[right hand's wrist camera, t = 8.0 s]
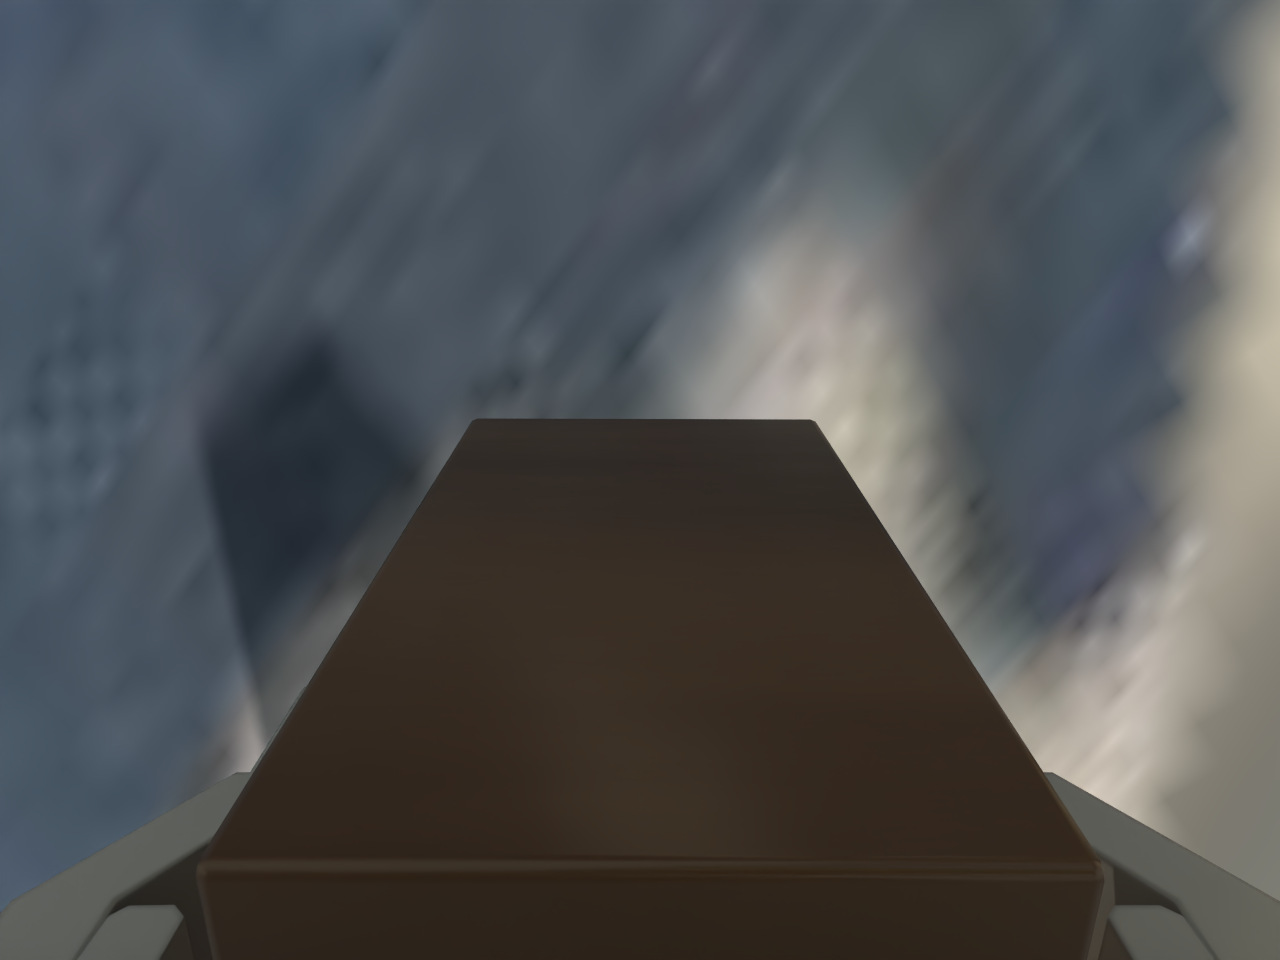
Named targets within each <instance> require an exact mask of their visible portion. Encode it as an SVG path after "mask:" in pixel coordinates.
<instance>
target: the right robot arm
mask: <svg viewBox="0 0 1280 960" xmlns="http://www.w3.org/2000/svg"><path fill="white" fill-rule="evenodd" d="M305 689H306V687H305V688H304V689H303V690H302V691H301V693H300V694H299V696H298V697H297V699H296V701H295V702H294V704H293V705H292V707H291V709H290V710H289V712H288V713H287V715H286V716H285V718H284V720H283V721H282V723H281V724H280V726H279V728H278V729H277V731H276V732H275V734H274V735H273V737H272V739H271V740H270V742H269V743H268V745H267V747H266V748H265V750H264V751H263V753H262V754H261V756H260V758H259V759H258V761H257V762H256V764H255V766H254V767H253V769H252V770H251V772H241V773H235V774H233V775H231V776H230V777H228V778H226V779H224V780H223V781H221V782H219V783H217V784H216V785H214V786H212V787H210V788H208V789H207V790H205V791H203V792H201V793H200V794H198V795H196V796H194V797H193V798H191V799H189V800H187V801H186V802H184V803H182V804H180V805H179V806H177V807H175V808H173V809H172V810H170V811H168V812H166V813H165V814H163V815H161V816H159V817H158V818H156V819H154V820H152V821H151V822H149V823H147V824H145V825H144V826H142V827H140V828H138V829H137V830H135V831H133V832H131V833H130V834H128V835H126V836H124V837H123V838H121V839H119V840H117V841H116V842H114V843H112V844H110V845H109V846H107V847H105V848H103V849H102V850H100V851H98V852H96V853H94V854H93V855H91V856H89V857H87V858H86V859H84V860H82V861H80V862H79V863H77V864H75V865H73V866H72V867H70V868H68V869H66V870H65V871H63V872H61V873H59V874H58V875H56V876H54V877H52V878H51V879H49V880H47V881H45V882H44V883H42V884H40V885H38V886H37V887H35V888H33V889H31V890H30V891H28V892H26V893H24V894H23V895H21V896H19V897H17V898H16V899H14V900H12V901H11V902H10V903H9V904H8V905H7V906H6V908H5V909H4V910H3V911H2V912H1V913H0V960H213V959H212V954H211V949H210V945H209V940H208V935H207V930H206V926H205V921H204V916H203V911H202V906H201V902H200V897H199V892H198V887H197V883H196V870H197V866H198V863H199V860H200V857H201V856H202V854H203V852H204V851H205V849H206V848H207V846H208V844H209V843H210V841H211V840H212V838H213V836H214V835H215V833H216V832H217V830H218V828H219V827H220V825H221V824H222V822H223V820H224V819H225V817H226V816H227V814H228V812H229V811H230V809H231V808H232V806H233V804H234V803H235V801H236V799H237V798H238V796H239V795H240V793H241V791H242V790H243V788H244V787H245V785H246V783H247V782H248V780H249V779H250V777H251V775H252V774H253V772H254V771H255V769H256V767H257V766H258V764H259V763H260V761H261V759H262V758H263V756H264V755H265V753H266V751H267V750H268V748H269V747H270V745H271V743H272V742H273V740H274V738H275V737H276V735H277V734H278V732H279V730H280V729H281V727H282V726H283V724H284V722H285V721H286V719H287V718H288V716H289V714H290V713H291V711H292V710H293V708H294V706H295V705H296V703H297V702H298V700H299V698H300V697H301V695H302V694H303V692H304V690H305ZM1043 773H1044V774H1045V776H1046V777H1047V779H1048V780H1049V782H1050V783H1051V785H1052V787H1053V788H1054V790H1055V791H1056V793H1057V794H1058V796H1059V797H1060V799H1061V800H1062V802H1063V803H1064V805H1065V807H1066V808H1067V810H1068V811H1069V813H1070V814H1071V816H1072V817H1073V819H1074V820H1075V822H1076V823H1077V825H1078V827H1079V828H1080V830H1081V831H1082V833H1083V834H1084V836H1085V837H1086V839H1087V840H1088V842H1089V843H1090V845H1091V847H1092V848H1093V850H1094V851H1095V853H1096V854H1097V856H1098V857H1099V859H1100V861H1101V864H1102V867H1103V871H1104V880H1105V882H1104V887H1103V891H1102V896H1101V900H1100V904H1099V909H1098V913H1097V918H1096V922H1095V926H1094V931H1093V935H1092V940H1091V944H1090V948H1089V953H1088V957H1087V960H1280V901H1278V900H1276V899H1275V898H1273V897H1271V896H1269V895H1268V894H1266V893H1264V892H1262V891H1261V890H1259V889H1257V888H1255V887H1253V886H1252V885H1250V884H1248V883H1246V882H1245V881H1243V880H1241V879H1239V878H1238V877H1236V876H1234V875H1232V874H1231V873H1229V872H1227V871H1225V870H1224V869H1222V868H1220V867H1218V866H1216V865H1215V864H1213V863H1211V862H1209V861H1208V860H1206V859H1204V858H1202V857H1201V856H1199V855H1197V854H1195V853H1194V852H1192V851H1190V850H1188V849H1186V848H1185V847H1183V846H1181V845H1179V844H1178V843H1176V842H1174V841H1172V840H1171V839H1169V838H1167V837H1165V836H1164V835H1162V834H1160V833H1158V832H1156V831H1155V830H1153V829H1151V828H1149V827H1148V826H1146V825H1144V824H1142V823H1141V822H1139V821H1137V820H1135V819H1134V818H1132V817H1130V816H1128V815H1126V814H1125V813H1123V812H1121V811H1119V810H1118V809H1116V808H1114V807H1112V806H1111V805H1109V804H1107V803H1105V802H1104V801H1102V800H1100V799H1098V798H1096V797H1095V796H1093V795H1091V794H1089V793H1088V792H1086V791H1084V790H1082V789H1081V788H1079V787H1077V786H1075V785H1074V784H1072V783H1070V782H1068V781H1066V780H1065V779H1063V778H1061V777H1059V776H1058V775H1056V774H1054V773H1049V772H1043Z"/></svg>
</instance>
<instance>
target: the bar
mask: <svg viewBox="0 0 1280 960" xmlns="http://www.w3.org/2000/svg"><path fill="white" fill-rule="evenodd" d="M1104 882H1105V880H1104V871H1103V867H1102V864H1101V861H1100V859H1099V857H1098V856H1097V854H1096V853H1095V851H1094V850H1093V848H1092V847H1091V845H1090V843H1089V842H1088V840H1087V839H1086V837H1085V836H1084V834H1083V833H1082V831H1081V830H1080V828H1079V827H1078V825H1077V823H1076V822H1075V820H1074V819H1073V817H1072V816H1071V814H1070V813H1069V811H1068V810H1067V808H1066V807H1065V805H1064V803H1063V802H1062V800H1061V799H1060V797H1059V796H1058V794H1057V793H1056V791H1055V790H1054V788H1053V787H1052V785H1051V783H1050V782H1049V780H1048V779H1047V777H1046V776H1045V774H1044V773H1043V771H1042V770H1041V768H1040V767H1039V765H1038V763H1037V762H1036V760H1035V759H1034V757H1033V756H1032V754H1031V753H1030V751H1029V750H1028V748H1027V747H1026V745H1025V743H1024V742H1023V740H1022V739H1021V737H1020V736H1019V734H1018V733H1017V731H1016V730H1015V728H1014V727H1013V725H1012V723H1011V722H1010V720H1009V719H1008V717H1007V716H1006V714H1005V713H1004V711H1003V710H1002V708H1001V707H1000V705H999V703H998V702H997V700H996V699H995V697H994V696H993V694H992V693H991V691H990V690H989V688H988V687H987V685H986V683H985V682H984V680H983V679H982V677H981V676H980V674H979V673H978V671H977V670H976V668H975V667H974V665H973V663H972V662H971V660H970V659H969V657H968V656H967V654H966V653H965V651H964V650H963V648H962V647H961V645H960V643H959V642H958V640H957V639H956V637H955V636H954V634H953V633H952V631H951V630H950V628H949V627H948V625H947V623H946V622H945V620H944V619H943V617H942V616H941V614H940V613H939V611H938V610H937V608H936V607H935V605H934V603H933V602H932V600H931V599H930V597H929V596H928V594H927V593H926V591H925V590H924V588H923V587H922V585H921V583H920V582H919V580H918V579H917V577H916V576H915V574H914V573H913V571H912V570H911V568H910V567H909V565H908V563H907V562H906V560H905V559H904V557H903V556H902V554H901V553H900V551H899V550H898V548H897V547H896V545H895V543H894V542H893V540H892V539H891V537H890V536H889V534H888V533H887V531H886V530H885V528H884V527H883V525H882V523H881V522H880V520H879V519H878V517H877V516H876V514H875V513H874V511H873V510H872V508H871V507H870V505H869V503H868V502H867V500H866V499H865V497H864V496H863V494H862V493H861V491H860V490H859V488H858V487H857V485H856V483H855V482H854V480H853V479H852V477H851V476H850V474H849V473H848V471H847V470H846V468H845V467H844V465H843V463H842V462H841V460H840V459H839V457H838V456H837V454H836V453H835V451H834V450H833V448H832V447H831V445H830V443H829V442H828V440H827V439H826V437H825V436H824V434H823V433H822V431H821V430H820V428H819V427H818V425H817V423H816V422H815V421H812V420H757V419H475V420H473V421H472V422H471V424H470V425H469V427H468V429H467V430H466V432H465V433H464V435H463V437H462V438H461V440H460V441H459V443H458V445H457V446H456V448H455V449H454V451H453V453H452V454H451V456H450V457H449V459H448V461H447V462H446V464H445V465H444V467H443V469H442V470H441V472H440V473H439V475H438V477H437V478H436V480H435V482H434V483H433V485H432V486H431V488H430V490H429V491H428V493H427V494H426V496H425V498H424V499H423V501H422V502H421V504H420V506H419V507H418V509H417V510H416V512H415V514H414V515H413V517H412V518H411V520H410V522H409V523H408V525H407V526H406V528H405V530H404V531H403V533H402V535H401V536H400V538H399V539H398V541H397V543H396V544H395V546H394V547H393V549H392V551H391V552H390V554H389V555H388V557H387V559H386V560H385V562H384V563H383V565H382V567H381V568H380V570H379V571H378V573H377V575H376V576H375V578H374V579H373V581H372V583H371V584H370V586H369V588H368V589H367V591H366V592H365V594H364V596H363V597H362V599H361V600H360V602H359V604H358V605H357V607H356V608H355V610H354V612H353V613H352V615H351V616H350V618H349V620H348V621H347V623H346V624H345V626H344V628H343V629H342V631H341V632H340V634H339V636H338V637H337V639H336V641H335V642H334V644H333V645H332V647H331V649H330V650H329V652H328V653H327V655H326V657H325V658H324V660H323V661H322V663H321V665H320V666H319V668H318V669H317V671H316V673H315V674H314V676H313V677H312V679H311V681H310V682H309V684H308V685H307V687H306V689H305V690H304V692H303V694H302V695H301V697H300V698H299V700H298V702H297V703H296V705H295V706H294V708H293V710H292V711H291V713H290V714H289V716H288V718H287V719H286V721H285V722H284V724H283V726H282V727H281V729H280V730H279V732H278V734H277V735H276V737H275V738H274V740H273V742H272V743H271V745H270V747H269V748H268V750H267V751H266V753H265V755H264V756H263V758H262V759H261V761H260V763H259V764H258V766H257V767H256V769H255V771H254V772H253V774H252V775H251V777H250V779H249V780H248V782H247V783H246V785H245V787H244V788H243V790H242V791H241V793H240V795H239V796H238V798H237V799H236V801H235V803H234V804H233V806H232V808H231V809H230V811H229V812H228V814H227V816H226V817H225V819H224V820H223V822H222V824H221V825H220V827H219V828H218V830H217V832H216V833H215V835H214V836H213V838H212V840H211V841H210V843H209V844H208V846H207V848H206V849H205V851H204V852H203V854H202V856H201V857H200V860H199V863H198V866H197V870H196V883H197V887H198V892H199V897H200V902H201V906H202V911H203V916H204V921H205V926H206V930H207V935H208V940H209V945H210V949H211V954H212V959H213V960H1087V957H1088V953H1089V948H1090V944H1091V940H1092V935H1093V931H1094V926H1095V922H1096V918H1097V913H1098V909H1099V904H1100V900H1101V896H1102V891H1103V887H1104Z"/></svg>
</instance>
